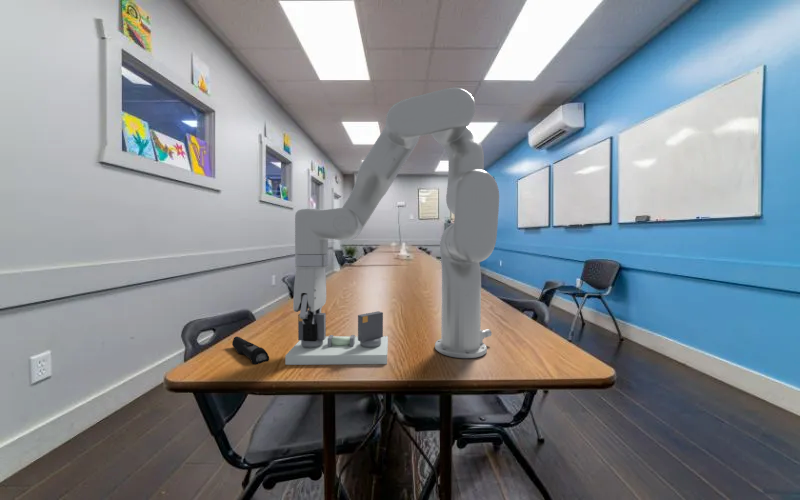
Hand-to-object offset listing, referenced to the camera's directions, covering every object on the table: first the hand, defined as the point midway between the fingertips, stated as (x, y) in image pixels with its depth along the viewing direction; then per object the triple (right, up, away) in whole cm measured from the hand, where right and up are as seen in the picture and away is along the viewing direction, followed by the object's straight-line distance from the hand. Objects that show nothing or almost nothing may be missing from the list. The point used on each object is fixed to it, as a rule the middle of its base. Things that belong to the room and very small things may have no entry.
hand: (312, 338), depth 71 cm
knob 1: (0, -1, 0) cm, 1 cm away
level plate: (+7, -4, 0) cm, 8 cm away
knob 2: (+14, -1, 0) cm, 14 cm away
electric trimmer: (-15, -4, -1) cm, 16 cm away
